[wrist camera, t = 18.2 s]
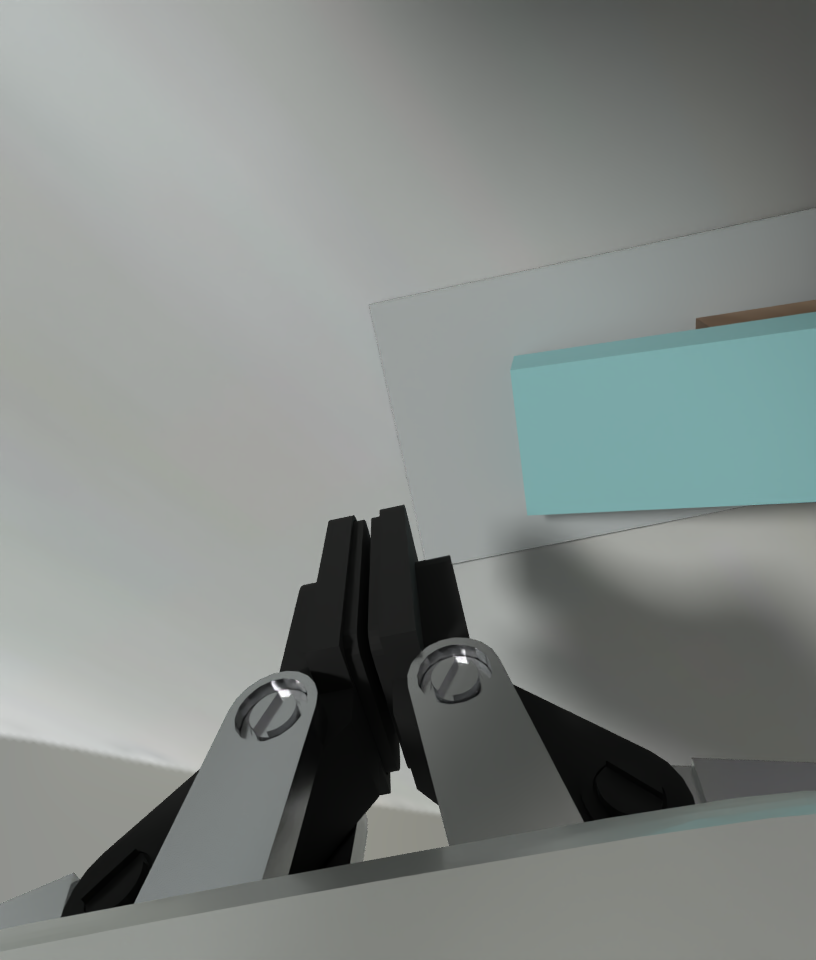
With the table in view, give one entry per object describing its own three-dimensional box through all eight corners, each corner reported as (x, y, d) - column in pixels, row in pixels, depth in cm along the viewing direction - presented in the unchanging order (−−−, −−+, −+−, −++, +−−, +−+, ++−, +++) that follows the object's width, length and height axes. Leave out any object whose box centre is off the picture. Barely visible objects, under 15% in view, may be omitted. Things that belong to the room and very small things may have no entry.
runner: (425, 563, 20) (426, 568, 19) (369, 304, 16) (368, 305, 15) (1174, 415, 19) (1190, 418, 18) (1324, 97, 15) (1349, 92, 14)
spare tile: (527, 515, 17) (900, 498, 14) (509, 370, 15) (944, 310, 11) (529, 490, 18) (863, 469, 15) (514, 356, 16) (897, 299, 13)
